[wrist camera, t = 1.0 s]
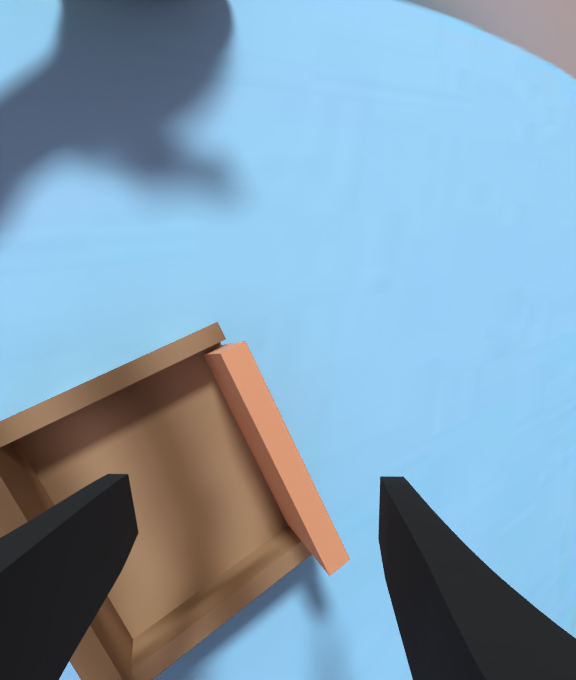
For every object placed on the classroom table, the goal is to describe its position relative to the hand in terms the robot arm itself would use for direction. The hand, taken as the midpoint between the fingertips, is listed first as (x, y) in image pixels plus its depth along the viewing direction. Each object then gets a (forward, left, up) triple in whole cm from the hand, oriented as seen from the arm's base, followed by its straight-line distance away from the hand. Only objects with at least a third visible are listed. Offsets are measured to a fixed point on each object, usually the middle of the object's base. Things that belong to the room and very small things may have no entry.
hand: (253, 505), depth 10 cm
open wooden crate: (-3, -1, -12) cm, 13 cm away
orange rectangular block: (+2, -3, -11) cm, 11 cm away
